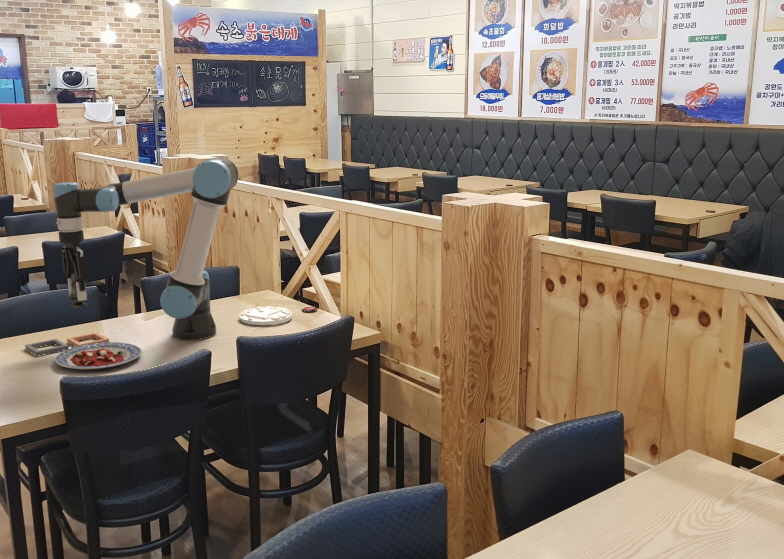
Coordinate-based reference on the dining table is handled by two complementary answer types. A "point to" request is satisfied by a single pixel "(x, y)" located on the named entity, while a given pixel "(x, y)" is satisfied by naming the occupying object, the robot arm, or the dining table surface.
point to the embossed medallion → (266, 316)
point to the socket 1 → (50, 350)
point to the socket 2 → (93, 335)
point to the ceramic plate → (98, 355)
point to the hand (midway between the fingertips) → (78, 298)
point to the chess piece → (75, 293)
